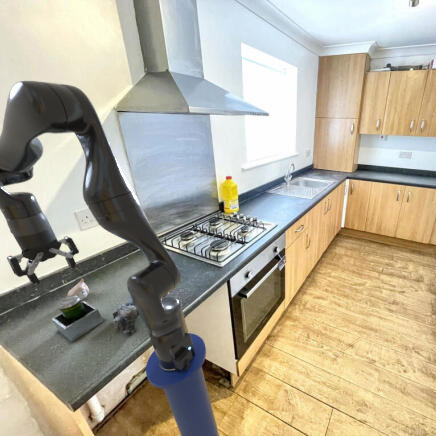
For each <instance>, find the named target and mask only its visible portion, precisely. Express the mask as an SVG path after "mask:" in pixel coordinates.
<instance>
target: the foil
mask: <svg viewBox="0 0 436 436" xmlns="http://www.w3.org/2000/svg"><path fill="white" fill-rule="evenodd" d="M120 306H121V307H120ZM120 306H118V308H117V309H116V311H115V312H113V313H112V317H113V319H112V320H111V324H113V326H112V328H114V329H115V330H116V332H118V334H119V333H122V334H126V333H129V332H130V333H131V335H133V333H134V332H135V331H136V320H137V318H138V312H137V308H136V306H135V304H134V302H133V300H132V298H131V296H130V295H129V296H128V302H126V303H122V304H120Z"/></svg>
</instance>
